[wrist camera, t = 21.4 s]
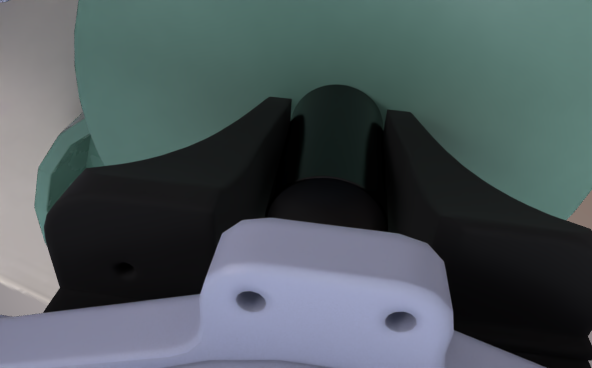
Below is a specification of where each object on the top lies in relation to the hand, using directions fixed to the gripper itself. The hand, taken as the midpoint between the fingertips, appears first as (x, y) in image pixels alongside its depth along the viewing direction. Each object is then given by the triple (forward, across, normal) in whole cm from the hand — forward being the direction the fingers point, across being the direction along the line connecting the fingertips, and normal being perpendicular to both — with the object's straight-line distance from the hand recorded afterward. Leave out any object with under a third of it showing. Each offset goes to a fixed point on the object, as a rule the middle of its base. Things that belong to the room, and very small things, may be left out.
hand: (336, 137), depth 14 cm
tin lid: (+1, 0, 0) cm, 1 cm away
